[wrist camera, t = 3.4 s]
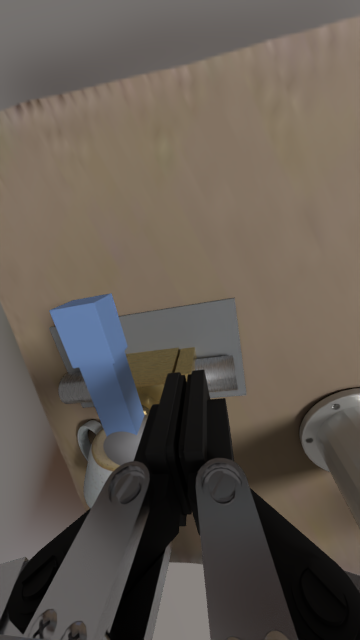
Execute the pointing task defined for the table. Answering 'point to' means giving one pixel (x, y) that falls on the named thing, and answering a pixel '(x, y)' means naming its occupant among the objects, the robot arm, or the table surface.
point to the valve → (158, 375)
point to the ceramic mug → (94, 460)
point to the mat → (181, 335)
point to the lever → (104, 370)
